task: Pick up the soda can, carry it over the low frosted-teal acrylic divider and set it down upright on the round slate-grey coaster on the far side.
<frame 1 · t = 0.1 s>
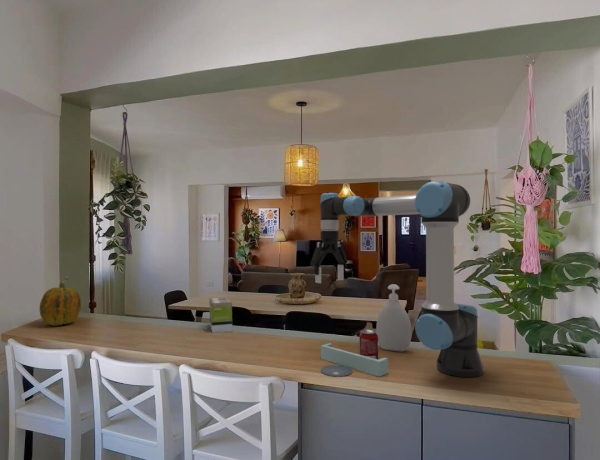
hand: (329, 281, 168), 28 cm above the worktop, fingers open, 13 cm apart
tea box: (220, 329, 204), on the worktop
pumpkin: (60, 325, 214), on the worktop
soda can: (368, 364, 148), on the worktop
divider: (349, 366, 145), on the worktop
coaster: (336, 371, 141), on the worktop
soap bottle: (394, 349, 167), on the worktop
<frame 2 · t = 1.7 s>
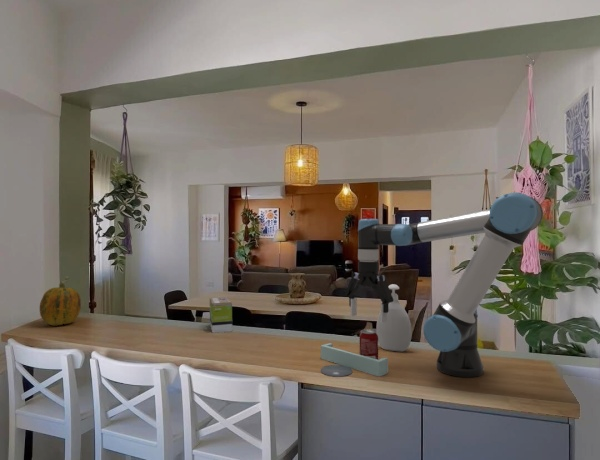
hand: (368, 318, 149), 17 cm above the worktop, fingers open, 13 cm apart
nothing on the worktop moved.
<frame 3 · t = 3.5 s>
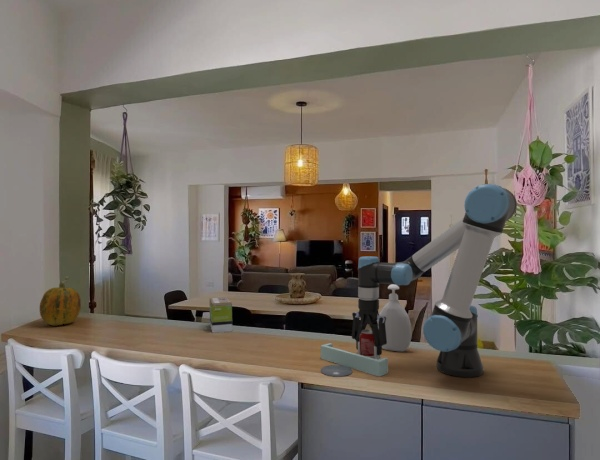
hand: (368, 361, 148), 1 cm above the worktop, fingers closed on soda can, 7 cm apart
soda can: (368, 364, 148), on the worktop, touching gripper
everything else where it was.
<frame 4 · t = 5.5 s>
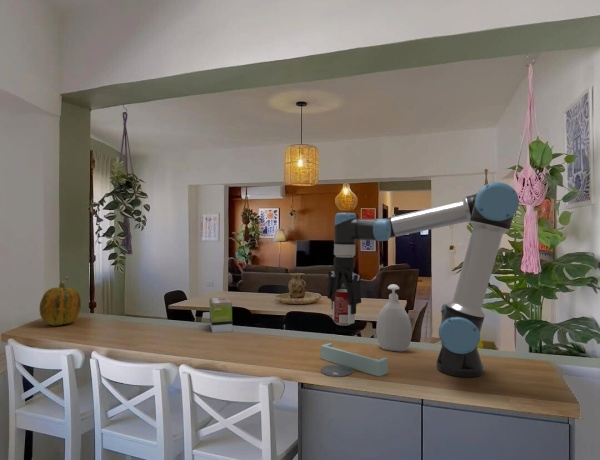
hand: (343, 321, 143), 17 cm above the worktop, fingers closed on soda can, 7 cm apart
soda can: (343, 324, 143), point 16 cm above the worktop, touching gripper
everything else where it was.
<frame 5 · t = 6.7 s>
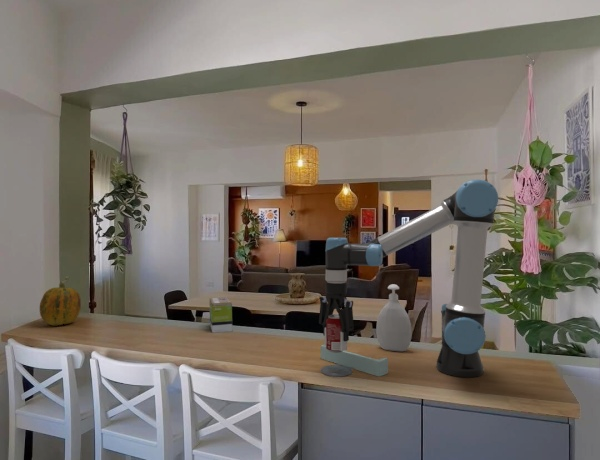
hand: (335, 347, 141), 8 cm above the worktop, fingers closed on soda can, 7 cm apart
soda can: (335, 351, 141), point 7 cm above the worktop, touching gripper
everything else where it was.
when the fingers open (2 cm above the worktop, at t = 7.7 s): soda can drops 1 cm, resting on coaster.
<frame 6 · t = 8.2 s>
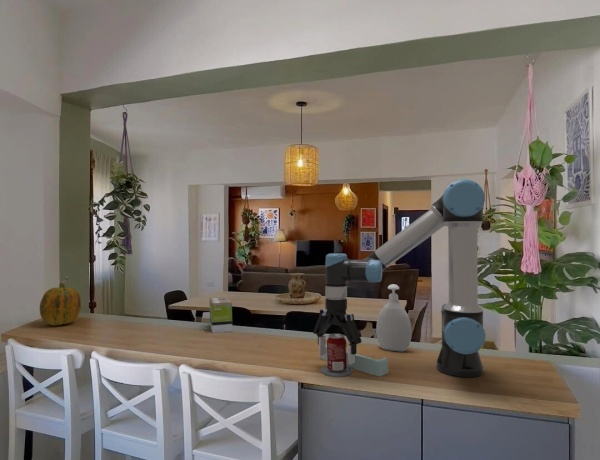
hand: (336, 359, 141), 4 cm above the worktop, fingers open, 13 cm apart
soda can: (336, 370, 140), resting on coaster
everything else where it was.
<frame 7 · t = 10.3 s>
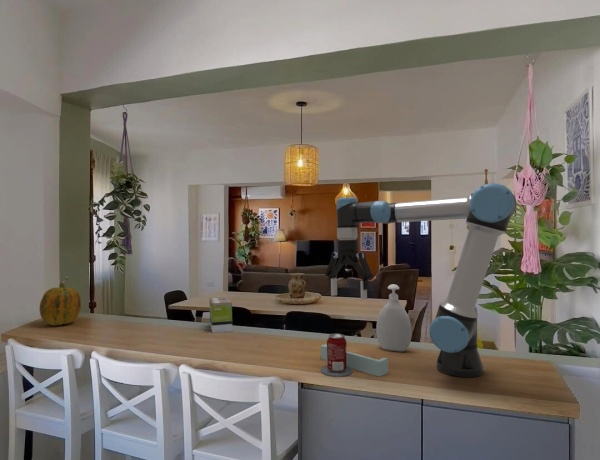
hand: (348, 297, 149), 24 cm above the worktop, fingers open, 13 cm apart
nothing on the worktop moved.
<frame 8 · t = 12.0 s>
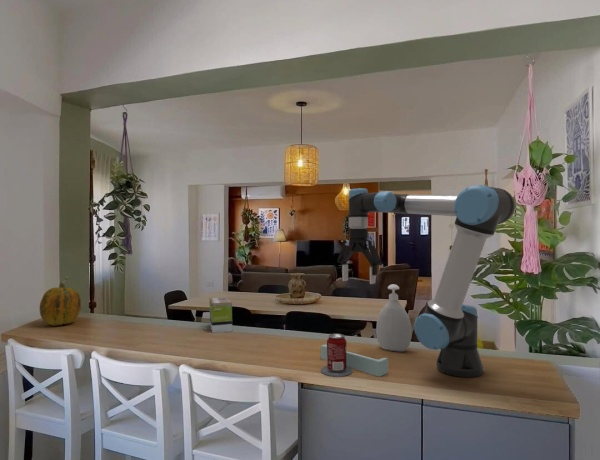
hand: (358, 282, 159), 29 cm above the worktop, fingers open, 13 cm apart
nothing on the worktop moved.
at the end: soda can inside the target area on the coaster (0.1 cm from its centre), point 0.2 cm above the coaster's base; soda can tilted 0°; the gripper is holding nothing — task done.
